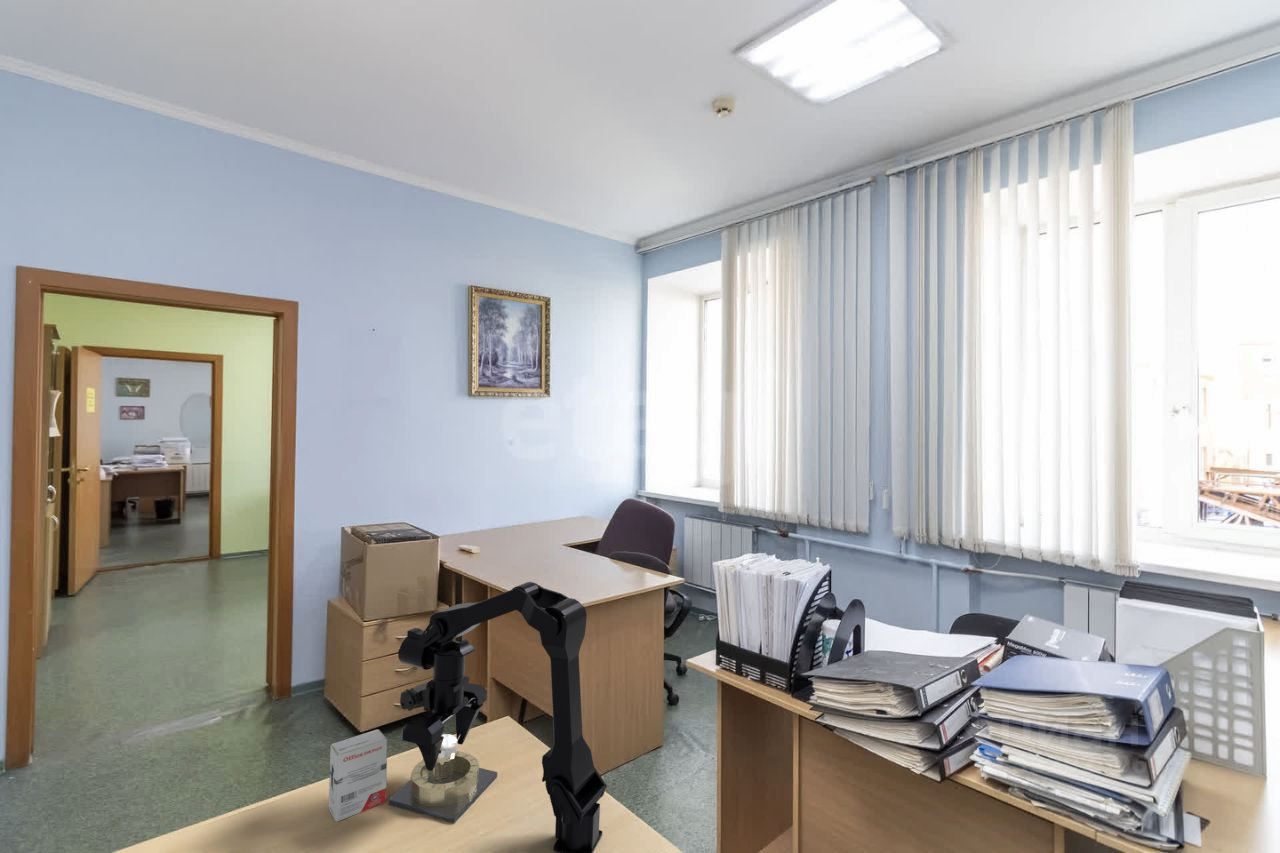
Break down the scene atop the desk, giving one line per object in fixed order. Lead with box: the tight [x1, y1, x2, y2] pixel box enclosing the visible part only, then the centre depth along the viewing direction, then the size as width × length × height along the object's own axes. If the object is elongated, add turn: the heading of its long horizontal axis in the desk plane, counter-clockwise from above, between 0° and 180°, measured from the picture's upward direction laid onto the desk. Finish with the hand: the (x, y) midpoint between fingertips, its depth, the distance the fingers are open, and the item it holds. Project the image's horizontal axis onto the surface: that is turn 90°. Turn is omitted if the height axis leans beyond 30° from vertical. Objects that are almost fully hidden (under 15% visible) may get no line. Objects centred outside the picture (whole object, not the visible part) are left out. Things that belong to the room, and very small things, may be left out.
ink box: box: [328, 729, 388, 823], centre depth 105 cm, size 8×5×12 cm, turn 133°
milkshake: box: [433, 733, 461, 784], centre depth 110 cm, size 4×5×10 cm
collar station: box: [387, 750, 498, 824], centre depth 110 cm, size 14×14×4 cm
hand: (445, 756), depth 110 cm, fingers open, 9 cm apart
